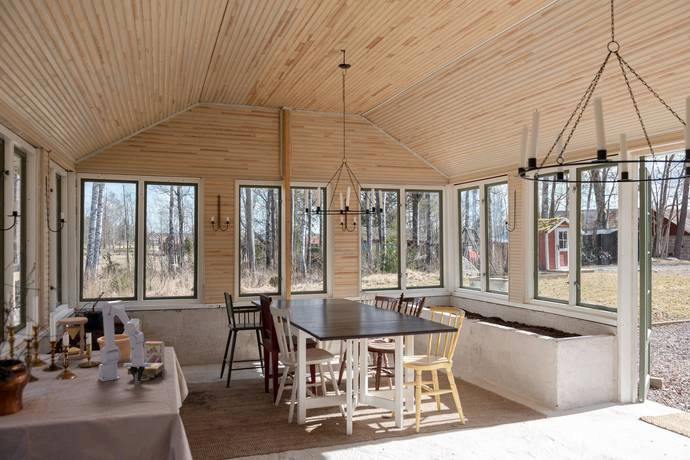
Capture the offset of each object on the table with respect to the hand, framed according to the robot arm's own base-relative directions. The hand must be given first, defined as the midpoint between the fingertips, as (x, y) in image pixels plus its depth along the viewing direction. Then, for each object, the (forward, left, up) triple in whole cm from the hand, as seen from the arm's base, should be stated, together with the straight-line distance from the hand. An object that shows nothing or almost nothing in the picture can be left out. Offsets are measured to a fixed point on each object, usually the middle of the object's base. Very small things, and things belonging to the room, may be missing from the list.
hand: (137, 380), depth 303 cm
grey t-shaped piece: (+4, +4, -2) cm, 6 cm away
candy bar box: (+17, +25, -2) cm, 31 cm away
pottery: (+6, +65, -2) cm, 65 cm away
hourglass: (-13, +92, -2) cm, 93 cm away
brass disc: (+6, +7, -2) cm, 10 cm away
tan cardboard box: (+8, +9, -2) cm, 12 cm away
